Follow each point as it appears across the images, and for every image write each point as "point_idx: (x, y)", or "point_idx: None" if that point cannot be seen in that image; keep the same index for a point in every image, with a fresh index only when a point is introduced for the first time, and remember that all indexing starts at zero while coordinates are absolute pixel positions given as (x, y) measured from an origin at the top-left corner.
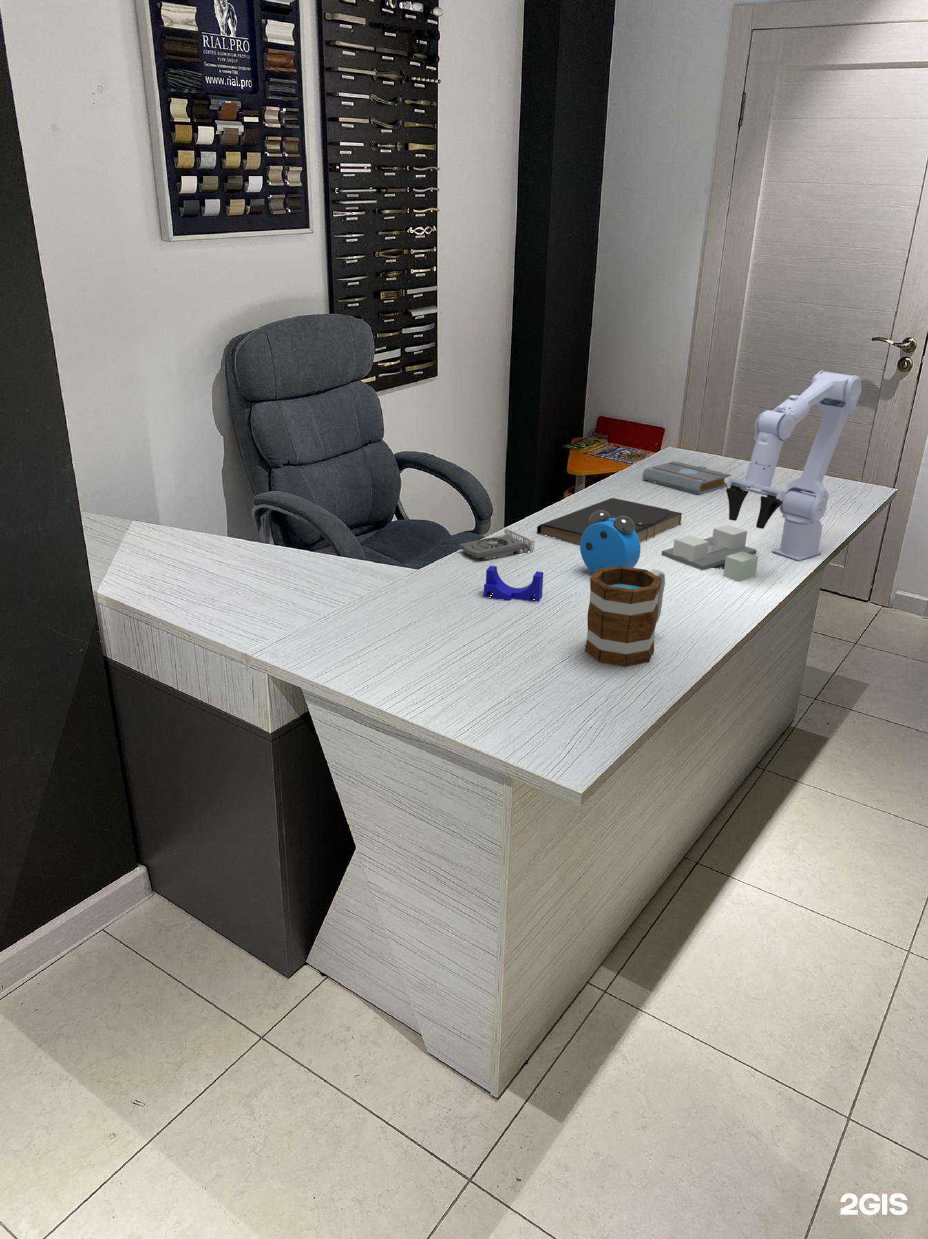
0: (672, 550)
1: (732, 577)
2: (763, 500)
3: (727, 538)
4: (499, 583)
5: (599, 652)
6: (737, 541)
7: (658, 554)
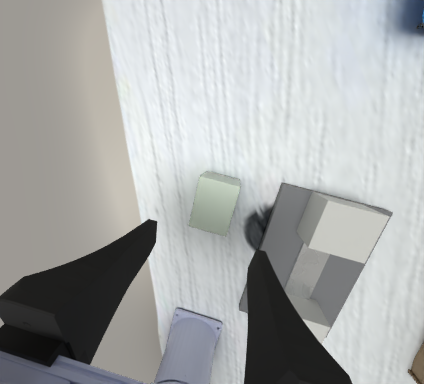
0: None
1: (220, 174)
2: (58, 288)
3: None
4: None
5: None
6: None
7: (392, 208)
